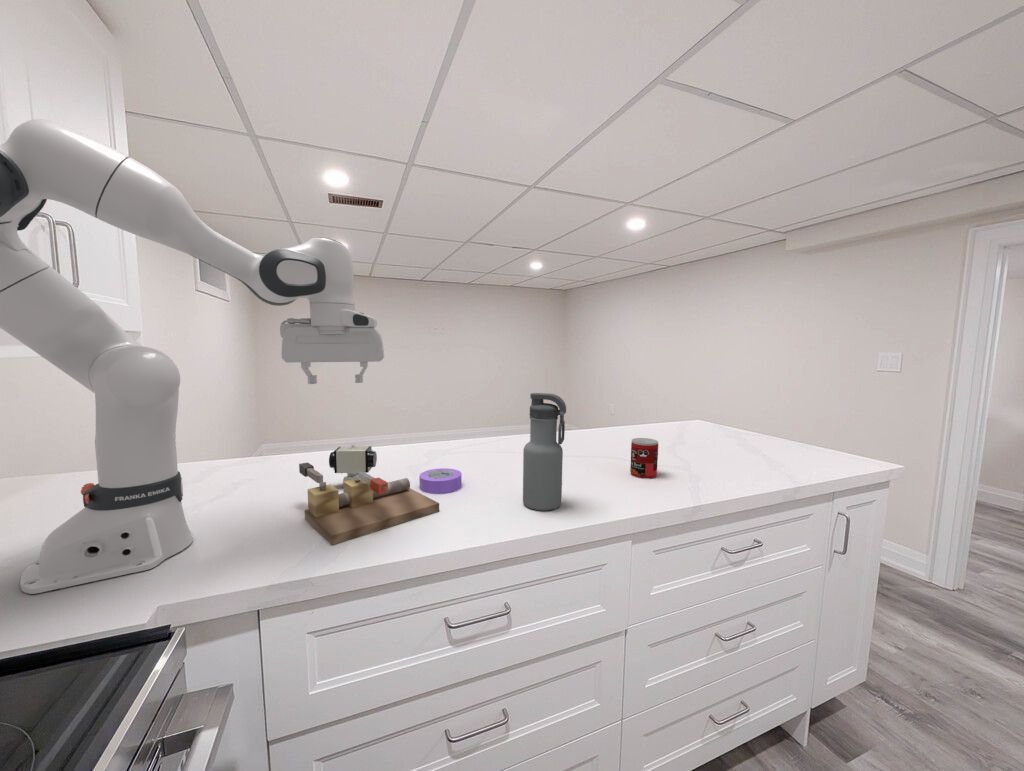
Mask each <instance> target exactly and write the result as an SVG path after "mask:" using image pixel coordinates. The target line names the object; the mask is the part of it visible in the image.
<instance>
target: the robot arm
mask: <svg viewBox="0 0 1024 771" xmlns="http://www.w3.org/2000/svg"><path fill="white" fill-rule="evenodd" d="M48 200H50V201H56V202H59V203H62V204H64V205H67V206H70V207H72V208H75V209H76V210H79V211H81V212H83V213H85V214H87V215H89V216H91V217H93V218H96V219H98V220H99V221H102V222H103V223H106V224H108V225H111V226H113V227H115V228H116V229H117V228H118V229H120V230H122V231H125V232H127V233H130V234H133V235H136V236H137V237H140V238H143V239H146V240H149V241H151V242H155V243H158V244H160V245H164V246H166V247H168V248H172V249H175V250H177V251H179V252H183V253H184V254H187V255H189V256H191V257H193V258H194V259H198V260H200V261H201V262H203V263H205V264H207V265H209V266H210V267H211V266H212V267H213V268H215V269H216V270H219V271H221V272H223V273H224V274H227V275H229V276H231V277H232V278H235V279H236V280H238V281H239V282H241V283H242V284H243V285H244V286H246V287H247V289H248V290H250V292H251V293H252V294H253V295H254V296H255V297H256V298H257V299H259V300H261V301H262V303H265V304H268V305H271V306H275V307H277V306H278V307H279V306H280V307H282V306H287V305H290V304H292V303H294V302H295V301H296V300H298V299H301V298H302V299H303V298H304V299H307V300H308V301H309V318H308V317H307V318H305V317H304V318H294V317H291V318H287V319H286V320H284V321H282V322H281V324H280V325H279V333H280V337H281V338H282V341H281V359H282V360H283V361H284V363H290V364H291V363H300V368H301V370H302V371H303V373H304V374H305V375H306V376H307V384H308V385H316V384H318V375H316V374H313V373H312V371H311V370H310V369H309V368H311V367H312V366H311V363H358V362H359V367H360V368H361V370H360V372H359V374H355V375H354V379H355V381H354V382H355V384H362V383H364V374H365V372H366V371H367V368H368V366H369V363H370V362H371V363H372V362H373V363H374V362H381V361H383V360H384V358H385V351H384V350H385V349H384V344H383V338H382V334H381V333H380V331H379V330H378V329H376V327H377V325H378V321H377V319H376V317H374V316H371V315H368V314H365V313H363V312H357V311H356V307H355V306H356V304H355V300H354V297H353V296H354V295H353V290H354V286H355V282H354V280H355V279H354V268H353V261H352V255H351V252H350V250H349V249H348V247H347V246H346V245H345V244H343V243H342V242H340V241H337V240H335V239H332V238H329V237H321V236H316V237H312V238H310V239H309V240H307V241H306V242H305V241H304V242H303V243H301V244H297V245H294V246H291V247H285V248H278V249H273V250H271V251H268V252H267V253H265V254H264V255H261V254H257V253H255V252H253V251H251V250H249V249H247V248H245V247H244V246H242V245H240V244H238V243H237V242H234V241H233V240H231V239H230V238H228V237H225V236H224V235H222V234H221V233H219V232H217V231H215V230H214V229H212V228H211V227H210V226H208V225H207V224H206V223H205V222H204V221H203V220H202V219H201V217H199V216H198V215H197V213H196V212H195V211H194V210H193V208H192V207H191V205H190V204H189V202H188V201H187V199H186V198H185V197H184V195H183V194H182V191H180V190H179V189H178V188H177V187H176V186H175V185H173V184H172V183H171V182H169V181H168V180H167V179H165V178H164V177H163V176H161V175H160V174H159V173H157V172H156V171H154V170H153V169H152V168H150V167H148V166H146V165H145V164H143V163H141V162H139V161H138V160H136V159H134V158H132V157H130V156H129V155H127V154H125V153H123V152H121V151H120V150H117V149H115V148H114V147H111V146H109V145H107V144H106V143H104V142H102V141H100V140H97V139H95V138H93V137H91V136H89V135H88V134H84V133H82V132H79V131H77V130H75V129H73V128H70V127H68V126H65V125H63V124H60V123H57V122H55V121H52V120H48V119H41V118H37V119H35V118H34V119H29V120H27V121H25V122H23V123H20V124H19V125H17V126H16V127H15V128H14V129H13V131H11V133H10V135H9V137H8V138H7V140H6V141H5V142H4V143H2V144H0V329H1V330H3V331H4V332H6V333H7V334H9V335H10V336H11V337H13V338H15V340H18V341H19V342H20V343H21V344H23V345H24V346H26V347H28V349H31V350H32V351H33V352H35V353H36V354H37V355H39V356H40V357H42V358H43V359H45V360H47V361H48V362H49V363H51V364H52V365H54V366H55V367H56V368H57V369H59V370H61V371H62V372H63V373H65V374H66V375H67V376H69V377H70V378H72V379H73V380H75V381H76V382H78V383H79V384H80V385H82V386H83V387H85V388H87V389H88V390H89V391H90V392H92V393H94V400H95V401H94V402H95V436H94V437H95V438H94V447H95V448H94V449H95V459H96V470H97V480H98V481H97V482H98V483H96V484H95V483H92V482H88V483H85V484H84V485H83V486H81V490H80V494H81V496H82V502H83V503H82V504H83V506H84V508H82V509H81V510H79V511H78V512H76V514H74V515H73V516H71V517H70V518H69V519H68V520H66V521H64V522H63V523H62V524H60V525H59V526H57V527H56V528H55V529H53V531H51V532H50V533H49V534H48V536H47V537H46V538H45V540H44V542H43V544H42V546H41V549H40V553H39V559H37V560H35V561H34V562H33V563H31V564H30V565H28V566H27V567H26V569H24V571H23V572H22V574H21V577H20V582H19V584H20V585H19V586H20V588H19V589H20V590H21V591H22V592H24V593H25V594H30V595H35V594H41V593H46V592H50V591H53V590H58V589H64V588H69V587H74V586H76V585H82V584H87V583H91V582H97V581H101V580H106V579H110V578H115V577H121V576H125V575H129V574H130V575H131V574H133V573H138V572H143V571H148V570H150V569H153V568H155V567H157V566H159V565H160V564H161V563H163V561H165V560H166V559H168V558H170V557H172V556H174V555H176V554H179V553H180V552H181V551H184V550H185V549H187V548H188V547H189V546H190V545H191V544H192V543H193V541H194V537H193V534H192V533H191V530H190V528H189V526H188V523H187V520H186V517H185V513H184V509H183V508H184V507H183V503H182V502H183V497H184V487H183V478H182V474H181V472H180V471H179V470H178V456H177V441H176V429H177V421H178V420H177V418H178V412H179V411H178V410H179V394H180V392H179V391H180V389H179V388H180V384H181V374H180V370H179V368H178V367H177V365H176V363H175V362H174V361H173V359H171V357H170V356H168V355H167V354H165V353H164V352H162V351H160V350H158V349H157V348H156V349H155V348H152V347H149V346H143V345H142V344H140V343H139V342H138V341H137V340H135V339H134V338H133V337H132V336H131V335H130V334H129V333H127V332H126V331H125V330H124V329H123V328H122V327H121V326H120V325H119V324H118V323H117V322H115V321H114V320H113V318H111V317H110V315H108V314H107V313H106V311H104V309H103V308H101V306H100V305H98V304H97V303H96V302H95V301H94V300H92V299H91V298H90V297H89V296H87V295H86V294H85V293H84V292H82V290H81V289H79V288H78V287H77V286H75V285H74V284H73V283H71V281H69V280H68V279H66V277H64V275H62V274H60V273H59V272H58V271H57V270H56V269H54V268H53V267H51V265H49V264H48V263H47V262H46V261H44V260H43V259H42V258H41V257H39V256H38V255H37V254H36V253H34V252H33V251H32V249H30V248H29V247H28V246H27V245H26V244H25V243H24V242H23V241H22V239H21V238H20V236H19V234H18V232H19V231H24V230H25V229H26V228H27V227H28V226H29V224H31V222H32V221H33V219H35V217H36V216H37V215H38V214H39V213H40V212H41V210H42V209H43V208H44V206H45V204H46V203H47V201H48ZM368 362H369V363H368Z"/></svg>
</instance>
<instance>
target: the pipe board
mask: <svg viewBox="0 0 1024 771" xmlns="http://www.w3.org/2000/svg"><path fill="white" fill-rule="evenodd" d="M298 464H299V466H298V467H299V474H300V475H302V476H303V477H305V478H307V477H309V478H310V479H311V480H312V481H314V482H315V483H317V484H318V486H317V487H312V488H308V489H307V505H308V506H307V507H308V508H306V509H304V519H305V520H306V521H307V522H308V523H309V524H310V525H311V526H312V527H313V528H314V529H315V530H316V531H317V532H318V533H319V534H320V535H321V536H323V538H324V539H326V541H327V542H328V543H329V544H330V545H331V546H334V545H337V544H340V543H343V542H346V541H347V542H348V541H350V540H353V539H356V538H359V537H363V536H366V535H369V534H372V533H375V532H379V531H382V530H385V529H389V528H391V527H394V526H397V525H400V524H404V523H407V522H410V521H414V520H416V519H419V518H423V517H425V516H429V515H432V514H436V513H438V512H440V502H438V501H435V500H433V499H432V498H430V497H428V496H426V495H424V494H422V493H420V492H418V491H417V490H415V489H413V488H411V484H410V483H411V482H410V479H409V478H407V477H405V478H401V479H397V480H393V481H387V482H388V492H387V493H383V494H378V493H376V492H374V491H373V490H371V489H370V486H369V485H367V484H366V483H364V482H362V481H358V482H356V481H355V479H352V480H348V481H343V480H342V484H343V485H342V486H343V492H341V493H339V489H338V488H337V487H335V486H334V485H332V484H331V483H330V484H327V482H326V481H324V475H323V474H322V473H320V472H319V471H317V470H315V468H314V465H312V464H311V463H309V462H301V463H298Z"/></svg>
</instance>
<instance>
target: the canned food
mask: <svg viewBox="0 0 1024 771" xmlns="http://www.w3.org/2000/svg"><path fill="white" fill-rule="evenodd" d="M630 446H631V447H630V467H629V468H630V469H629V470H630V471H629V472H630V475H631V476H633V477H634V476H635V478H638V479H644V478H650V479H654V478H656V477H657V474H658V459H659V458H658V457H659V441H658V440H656V439H654V438H648V437H647V438H646V437H636V438H632V439H631V444H630Z"/></svg>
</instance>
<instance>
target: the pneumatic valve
mask: <svg viewBox="0 0 1024 771" xmlns="http://www.w3.org/2000/svg"><path fill="white" fill-rule="evenodd" d="M372 448H373V446H372V445H371V446H370V445H369V446H360V445H359V446H356V444H355V443H354V444H351V445H350V446H338V447H337V448H336V449H334V450H333V451H331V452H330V454H329V457H328V465H329V468H330V469H333V470H334V474H346V476H344V477H343V478H342V479H343V480H342V482H343V481H348V480H352V479H355V475H358V472H362V471H363V472H365V473H367V474H369V472H371V469H373V468H375V467H376V465H377V460H378V458H377V456H378V455H377V454H378V453H377V452H376V451H375V450H373V449H372Z"/></svg>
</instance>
